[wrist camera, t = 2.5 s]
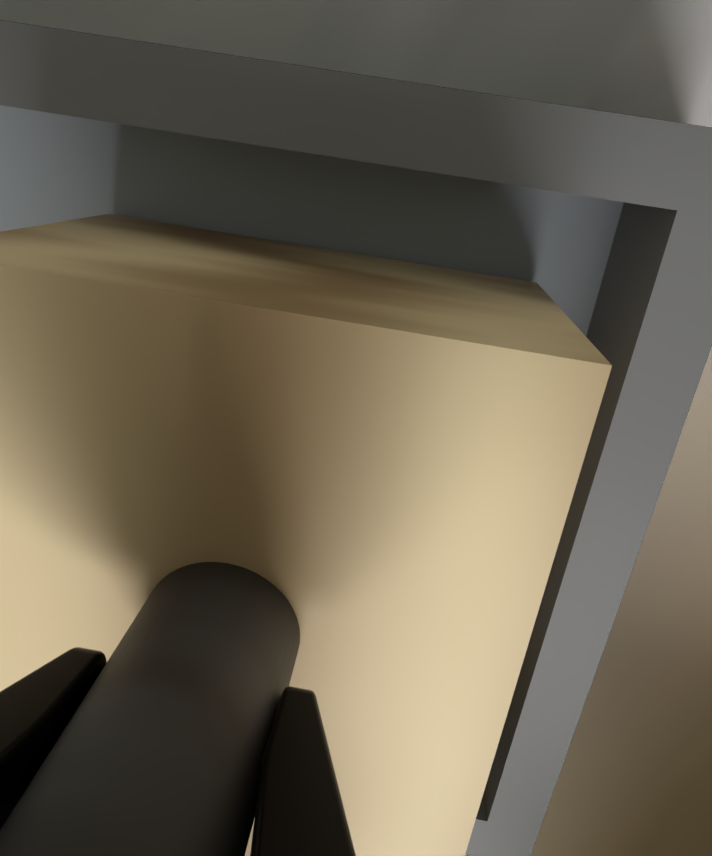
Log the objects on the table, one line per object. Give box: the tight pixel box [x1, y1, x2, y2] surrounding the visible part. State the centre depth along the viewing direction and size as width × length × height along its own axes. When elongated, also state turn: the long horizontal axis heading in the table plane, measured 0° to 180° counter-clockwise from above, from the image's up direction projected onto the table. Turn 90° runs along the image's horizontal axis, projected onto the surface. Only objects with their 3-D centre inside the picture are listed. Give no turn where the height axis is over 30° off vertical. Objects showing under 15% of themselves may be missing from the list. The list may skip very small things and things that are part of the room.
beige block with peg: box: [0, 214, 612, 856], centre depth 11 cm, size 9×10×11 cm
